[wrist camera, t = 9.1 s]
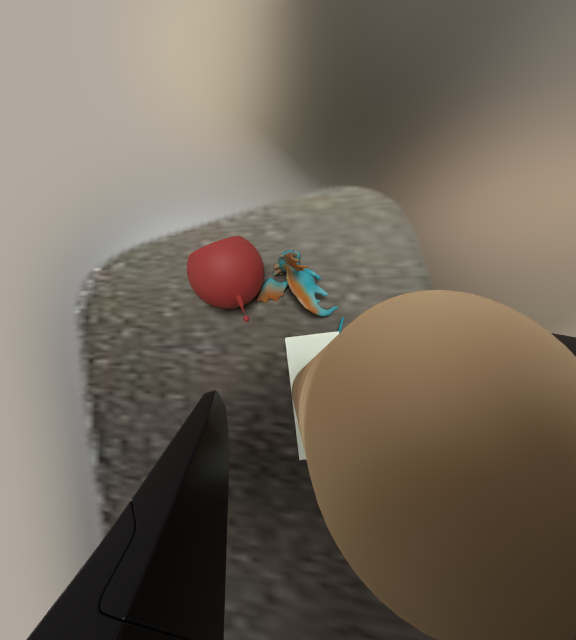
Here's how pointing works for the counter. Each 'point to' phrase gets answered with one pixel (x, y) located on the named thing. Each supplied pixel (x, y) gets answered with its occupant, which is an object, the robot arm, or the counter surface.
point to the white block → (304, 363)
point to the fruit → (226, 273)
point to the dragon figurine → (296, 284)
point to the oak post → (449, 464)
